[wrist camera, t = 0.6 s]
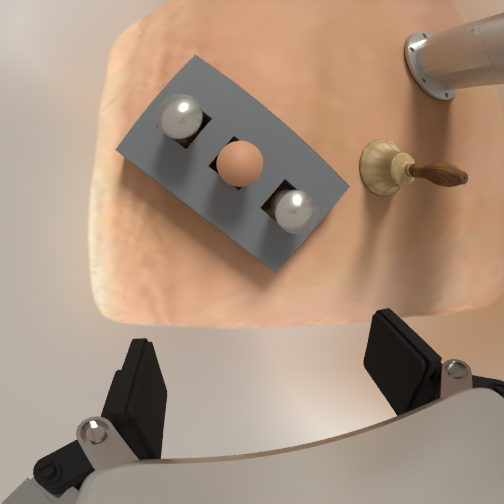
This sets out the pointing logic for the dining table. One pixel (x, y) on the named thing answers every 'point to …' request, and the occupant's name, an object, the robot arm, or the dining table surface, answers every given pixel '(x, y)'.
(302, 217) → the silver rounded piece
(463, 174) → the hand bell
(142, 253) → the dining table surface
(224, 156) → the peach grooved knob
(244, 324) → the dining table surface
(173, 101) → the ball
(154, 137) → the panel
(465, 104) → the dining table surface
